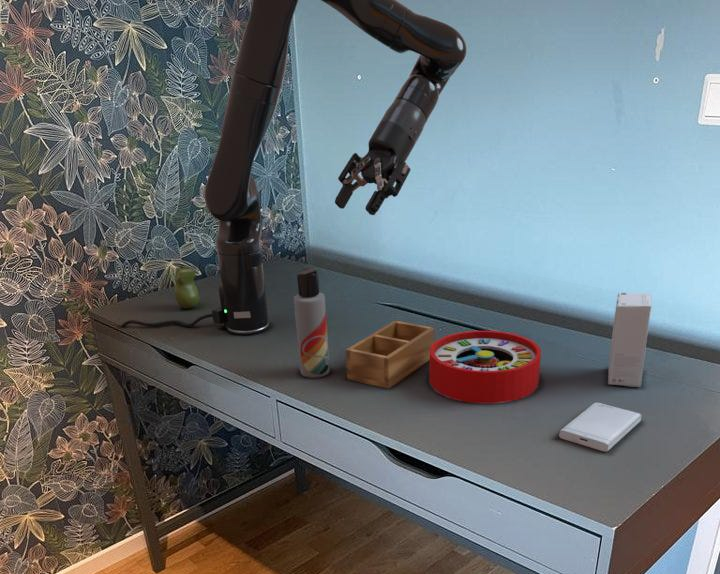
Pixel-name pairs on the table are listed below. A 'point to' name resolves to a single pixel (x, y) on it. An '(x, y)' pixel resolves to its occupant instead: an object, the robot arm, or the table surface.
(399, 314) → the table surface
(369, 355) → the wooden organizer box
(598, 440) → the hard drive
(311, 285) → the lotion bottle
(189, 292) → the pear
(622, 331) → the cosmetic box
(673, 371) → the table surface
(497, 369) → the toy clock
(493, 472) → the table surface
